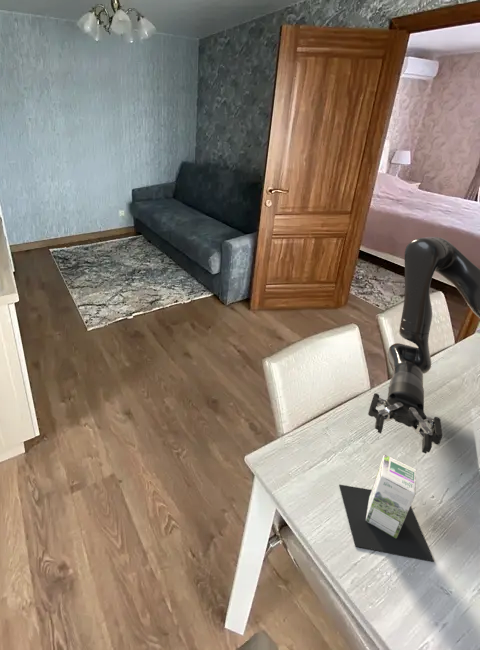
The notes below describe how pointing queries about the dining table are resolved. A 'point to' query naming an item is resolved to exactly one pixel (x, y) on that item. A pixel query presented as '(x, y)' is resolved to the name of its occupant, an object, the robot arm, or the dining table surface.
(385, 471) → the syrup box
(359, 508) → the plate
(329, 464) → the dining table surface
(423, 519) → the dining table surface
